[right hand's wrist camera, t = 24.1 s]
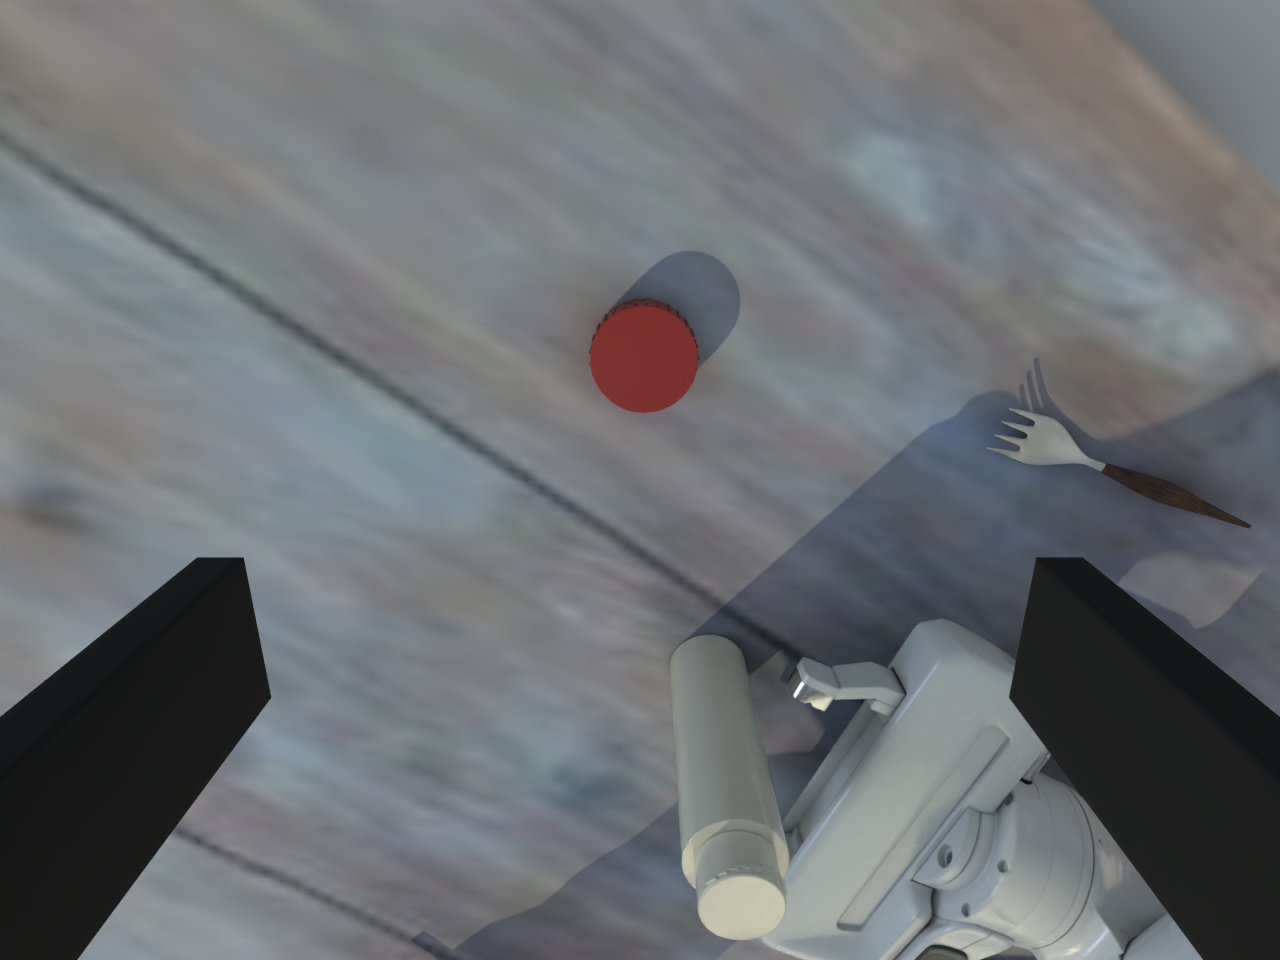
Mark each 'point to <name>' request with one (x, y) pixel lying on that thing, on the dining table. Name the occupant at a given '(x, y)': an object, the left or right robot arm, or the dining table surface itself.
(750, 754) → the jar
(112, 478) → the dining table surface
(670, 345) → the lid
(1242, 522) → the fork
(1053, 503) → the dining table surface
